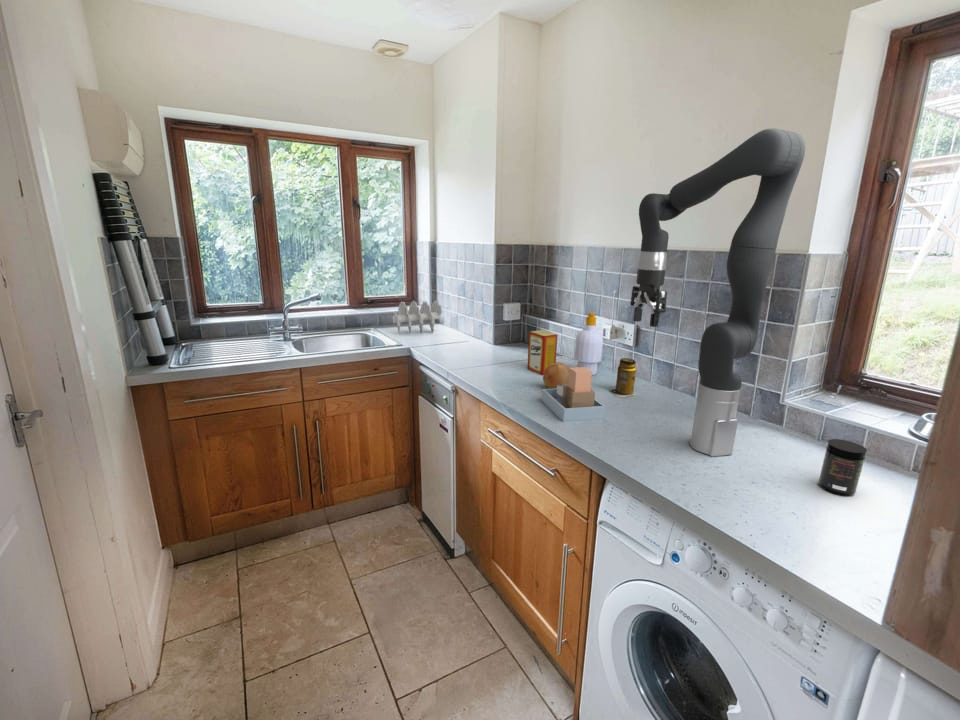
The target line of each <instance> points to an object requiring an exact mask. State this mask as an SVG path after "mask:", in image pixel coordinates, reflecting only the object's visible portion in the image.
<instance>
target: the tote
mask: <svg viewBox="0 0 960 720" xmlns="http://www.w3.org/2000/svg"><path fill="white" fill-rule="evenodd" d="M556 393H557V388H555V389H549V388H542V390H541V402H542V403H543V404H544V405H545V406H546V407H547V408H548V409H550V411H551V412H553V413H554V414H555V415H556V416H557V417H558V419H560V421H562V422H563V423H566V422H567V423H569V422H583V421H594V420H596V421H597V420H605V418H606V417H605V415H606V408H607V407H606V406H605V404H603V403H601V402H600V401H599V400H597V399H596V398H595V399H594V406H593V407H579V408H564V407H563V406H562V405H561V404H560V403H559V402H558V401H557V400H556Z"/></svg>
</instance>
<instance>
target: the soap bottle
mask: <svg viewBox="0 0 960 720" xmlns="http://www.w3.org/2000/svg"><path fill="white" fill-rule="evenodd" d="M587 314H588V316H586V318H585V319H586V320H585V321H586V322H585V329H581V330H580V331H578V333H577V336H576V339H575V349H574V350H575V351H574V359H575V361H577V366H576V367H585V368H587V369H589V370H590V371H592V376H594V375H596V374H597V372H598V363H601V361H602V358H603V357H602V356H603V345H604V339H603V335H602V333H601V332H600V331H598V330H596V323H597V317H596V313H595V312H588V313H587Z"/></svg>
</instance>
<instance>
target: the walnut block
mask: <svg viewBox="0 0 960 720" xmlns="http://www.w3.org/2000/svg"><path fill="white" fill-rule="evenodd" d="M594 399H596V392H595V391H594V390H593V389H591V391H587V392H574V391H573V390H571V389H570V388H569V387H568V386H563V398H562V406H563V407H564V408H579V407H593V406H594Z"/></svg>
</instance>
